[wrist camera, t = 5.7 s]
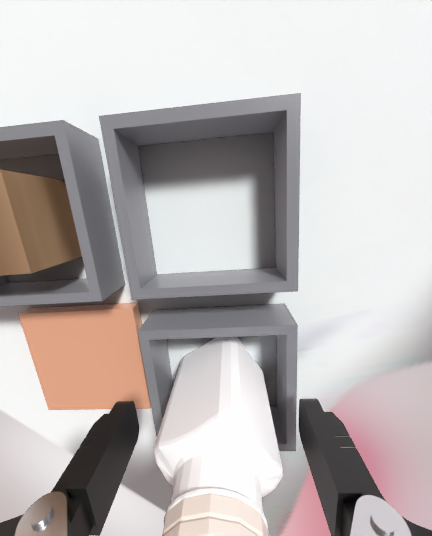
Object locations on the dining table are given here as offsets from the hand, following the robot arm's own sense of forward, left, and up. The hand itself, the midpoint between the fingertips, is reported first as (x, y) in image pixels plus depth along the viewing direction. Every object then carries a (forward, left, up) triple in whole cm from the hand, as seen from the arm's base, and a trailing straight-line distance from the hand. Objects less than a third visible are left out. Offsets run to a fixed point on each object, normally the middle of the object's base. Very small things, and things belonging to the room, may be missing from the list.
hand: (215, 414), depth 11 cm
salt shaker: (0, 0, -4) cm, 4 cm away
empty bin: (0, -9, -4) cm, 10 cm away
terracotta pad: (+8, -1, -4) cm, 9 cm away
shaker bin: (0, 0, -4) cm, 4 cm away
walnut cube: (+9, -9, -4) cm, 14 cm away
